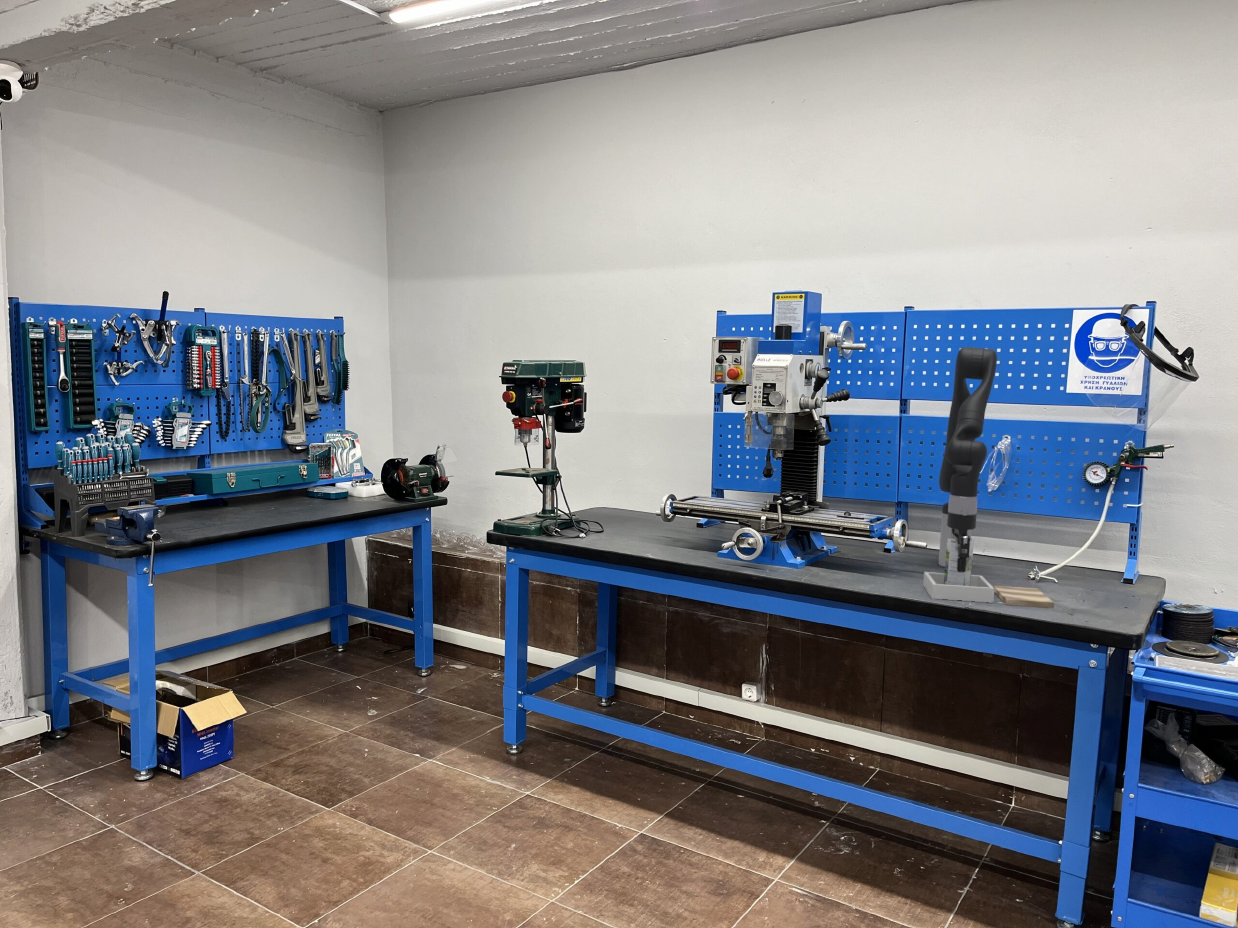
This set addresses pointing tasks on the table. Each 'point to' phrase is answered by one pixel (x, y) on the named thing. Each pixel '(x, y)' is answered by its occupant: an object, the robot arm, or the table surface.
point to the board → (1023, 596)
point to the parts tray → (958, 588)
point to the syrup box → (951, 565)
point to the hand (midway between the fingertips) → (958, 568)
